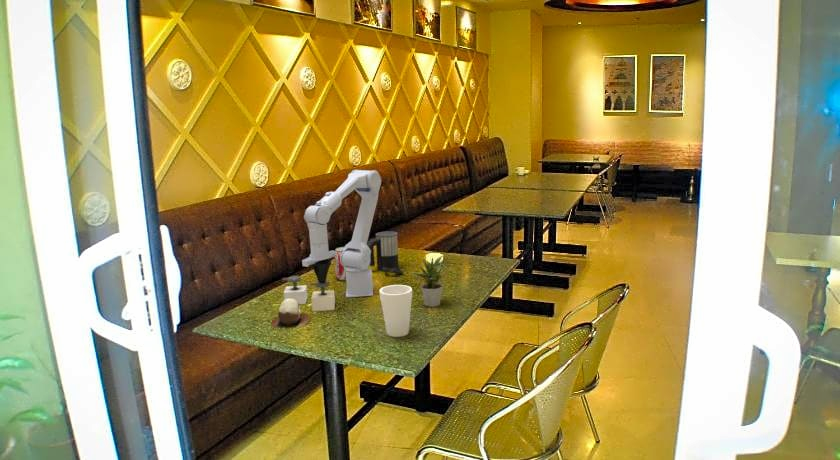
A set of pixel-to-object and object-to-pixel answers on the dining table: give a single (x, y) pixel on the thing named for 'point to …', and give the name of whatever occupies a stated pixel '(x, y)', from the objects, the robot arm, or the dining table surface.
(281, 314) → the skull
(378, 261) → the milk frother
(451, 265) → the dining table surface
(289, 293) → the square base with knob
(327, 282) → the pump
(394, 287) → the foam cup
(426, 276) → the house plant
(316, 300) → the off-white square plinth
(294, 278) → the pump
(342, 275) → the soda can
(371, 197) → the robot arm
